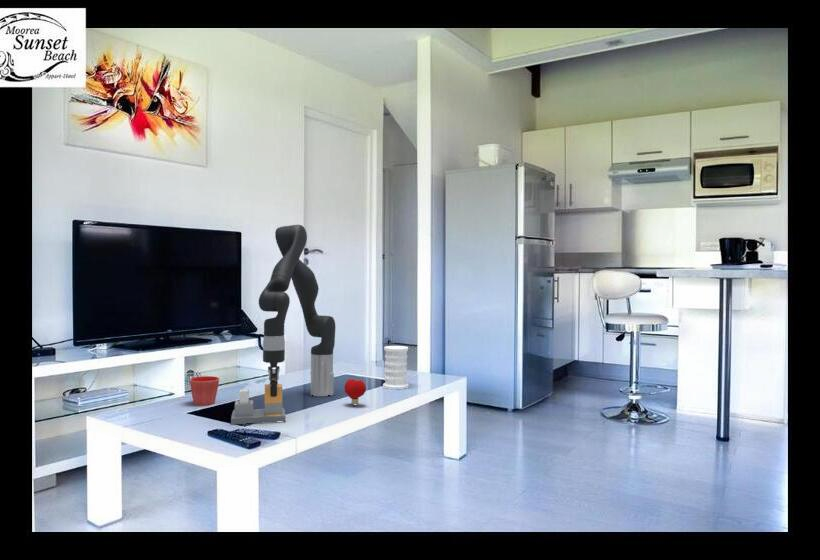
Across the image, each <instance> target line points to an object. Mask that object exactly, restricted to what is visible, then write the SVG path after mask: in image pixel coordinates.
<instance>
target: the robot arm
mask: <svg viewBox="0 0 820 560" xmlns="http://www.w3.org/2000/svg"><path fill="white" fill-rule="evenodd" d="M274 233H275V236H274V238H275V242H276V244H277V247H278V250H279V251H280V254H281V257H282V258H280V260H278V262H277V263H276V264H275V266H274V267H273V269H272V273H271V276H270V279H269V281H268V283H267V285H266V286H265V287H264V289H263V290H262V292H261V294H260V295H259V298H258V306H259V309H260V310H261V311H263V312H272V313H273V312H274V313H275V312H277V314H276V316H275V317H274V316H273V317H269V318H267V319H265V320H264V321H263V341H262V361H263V363H267V364H269V366H267V373H268V380H269V384H270V396H271V397H276V396H277V385H278V384H279V382H278V381H279V378H280V376H279V375H280V370H281V369H280V366H279V365H278V363H283V362H285V359H286V356H285V355H286V352H285V351H286V348H285V347H286V344H285V343H286V341H285V321H286V318H287V313H288V310H289V307H290V303H291V301H290V296H289V294H288V293H286V292H287V290H288V289H289V287H290V283H291V281H292V284H293V287H294V290H295V292H296V295H297V298H298V300H299V304H300V307H301V310H302V314H303V318H304V323H305V326H306V330H307V332H308V334H309V336H311V337H313V338H320V343H318V344H316V345H314V346H312V347H311V349H310V396H312V395H313V397H329V396H328V395H330V396H334V348H335V345H336V344H335V343H336V321H335V318H334V317H332V316H330V315H319V314H318V312H317V310H316V306H315V305H316V304H315V303H316V300H317V297H318V294H319V289H320V288H319V284H318V281H317V278H316V276H315V273H314V271H313V270H312V269H311V268H310V267H309V266H308V265H306V263H304V262H303V261H302V260H301V259H300V258H301V256H302V254H303V251H304V249H305V247H306V244H307V242H308V241H307V240H308V233H307V231H306V228H305V227H304V225H301V224H291V225H283V226H280V227H279V226H278V227H277V228H276V229H275V232H274Z"/></svg>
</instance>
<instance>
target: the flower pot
mask: <svg viewBox="0 0 820 560" xmlns="http://www.w3.org/2000/svg"><path fill="white" fill-rule="evenodd" d="M219 383H220V378H219V377H217V376H213V375H212V376H211V375H209V376H208V375H207V376H206V375H205V376H203V375H202V376H195V377H191V378H190V379H189V385H190V386H189V387H190V391H191V395H192V396H191V397H192V401H193V404H194V405H195V404H196V405H195V406H209V405H208V404H211V405H213V403H214V404H215V403H216V398H217V395H218V394H217V393H218V389H219Z"/></svg>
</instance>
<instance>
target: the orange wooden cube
mask: <svg viewBox="0 0 820 560" xmlns="http://www.w3.org/2000/svg"><path fill="white" fill-rule="evenodd" d="M265 403H282V404H283V383H278V385H277V396H276V397H271V396H270V383H269V384H267V383H266V384H264V404H265Z"/></svg>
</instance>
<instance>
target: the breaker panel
mask: <svg viewBox="0 0 820 560" xmlns="http://www.w3.org/2000/svg"><path fill="white" fill-rule="evenodd" d="M239 401H240V400H235V402H234V409H233V410H232V413H231V418H230V425H247V424H246V423H253V424H263V423H262V422H275V423H278V422H277V421H285V422H286V410H285V409H286V408H284V407H283V402H282V403H265V402H264V408H255V409H254V400H253V399H249V403H246V404H239Z"/></svg>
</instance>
